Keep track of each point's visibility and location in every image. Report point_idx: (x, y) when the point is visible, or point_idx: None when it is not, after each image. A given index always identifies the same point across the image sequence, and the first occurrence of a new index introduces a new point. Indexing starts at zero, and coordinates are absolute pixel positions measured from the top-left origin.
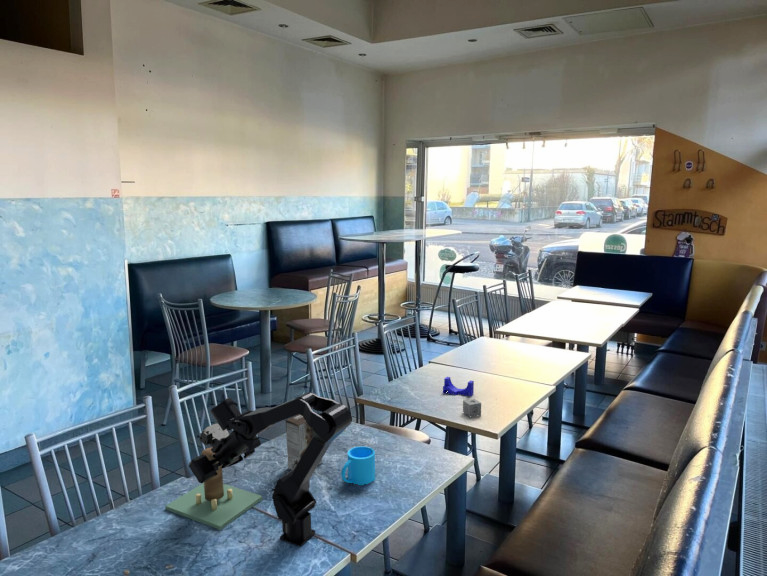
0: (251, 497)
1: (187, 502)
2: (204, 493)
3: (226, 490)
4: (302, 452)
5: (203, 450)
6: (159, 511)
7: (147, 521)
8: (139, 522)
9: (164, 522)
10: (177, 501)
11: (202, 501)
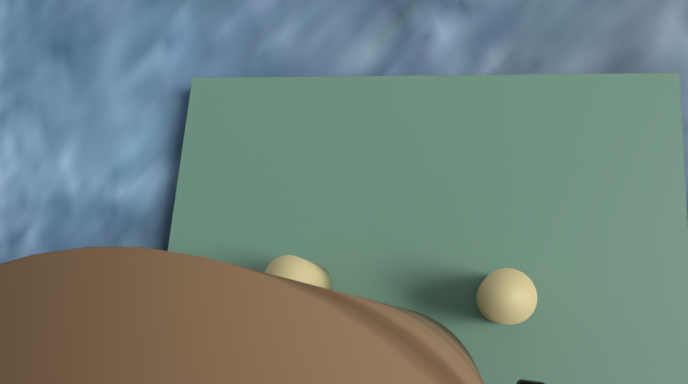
0: None
1: (287, 187)
2: (454, 214)
3: (598, 374)
4: None
5: (40, 278)
6: (173, 72)
7: (64, 97)
8: (44, 63)
9: (84, 204)
10: (269, 108)
11: (346, 292)
